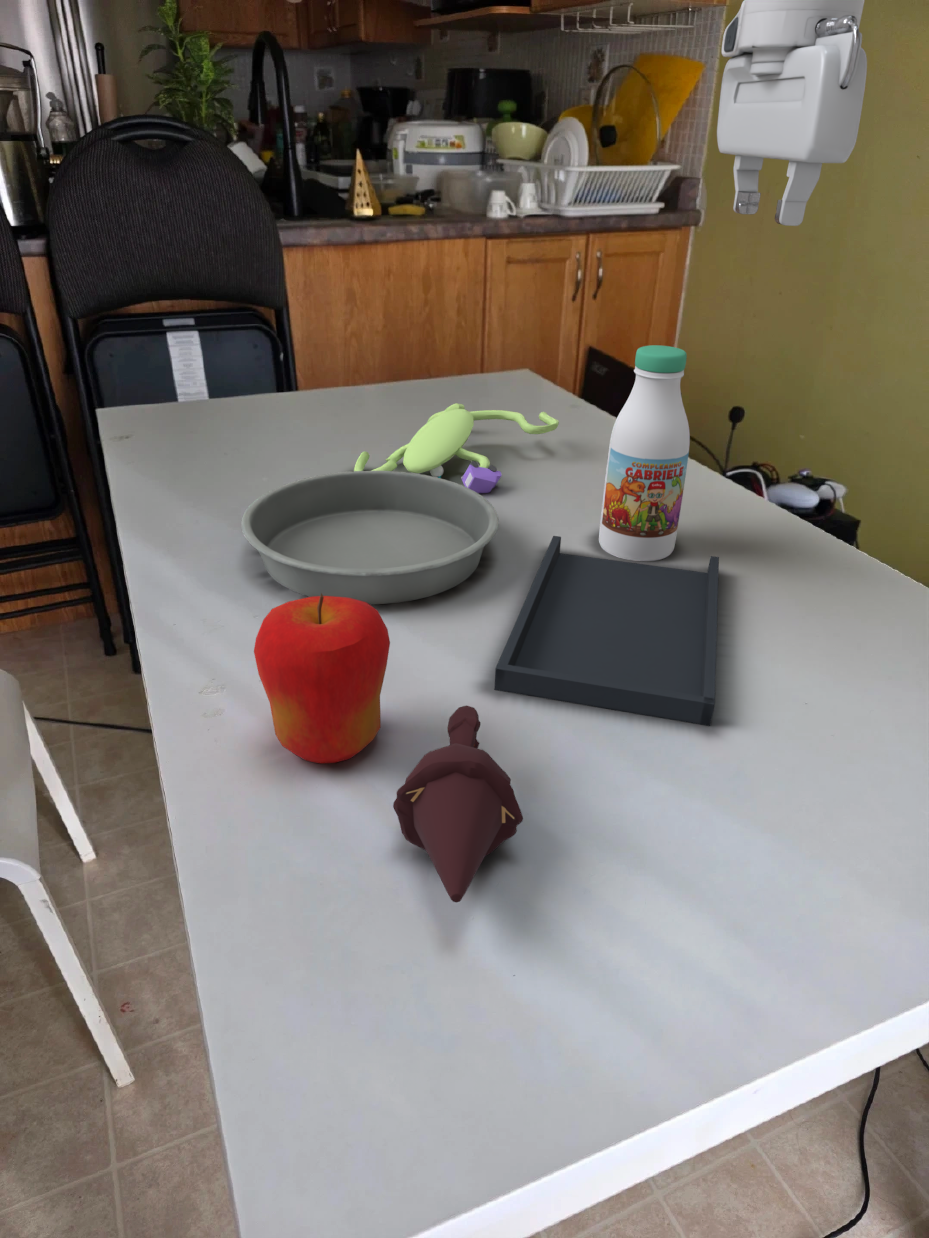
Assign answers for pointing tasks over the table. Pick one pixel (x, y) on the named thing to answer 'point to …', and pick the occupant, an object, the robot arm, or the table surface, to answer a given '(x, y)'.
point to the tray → (616, 637)
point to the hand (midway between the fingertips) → (764, 219)
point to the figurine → (454, 445)
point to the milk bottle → (647, 461)
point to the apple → (323, 675)
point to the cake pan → (370, 534)
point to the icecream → (458, 805)
